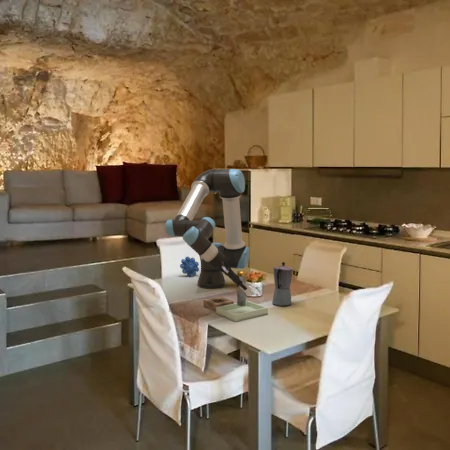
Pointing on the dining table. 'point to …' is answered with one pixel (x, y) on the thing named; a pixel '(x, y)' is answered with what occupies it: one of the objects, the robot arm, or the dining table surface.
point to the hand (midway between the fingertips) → (250, 292)
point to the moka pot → (282, 285)
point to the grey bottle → (240, 293)
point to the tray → (241, 311)
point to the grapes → (189, 266)
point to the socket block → (216, 302)
